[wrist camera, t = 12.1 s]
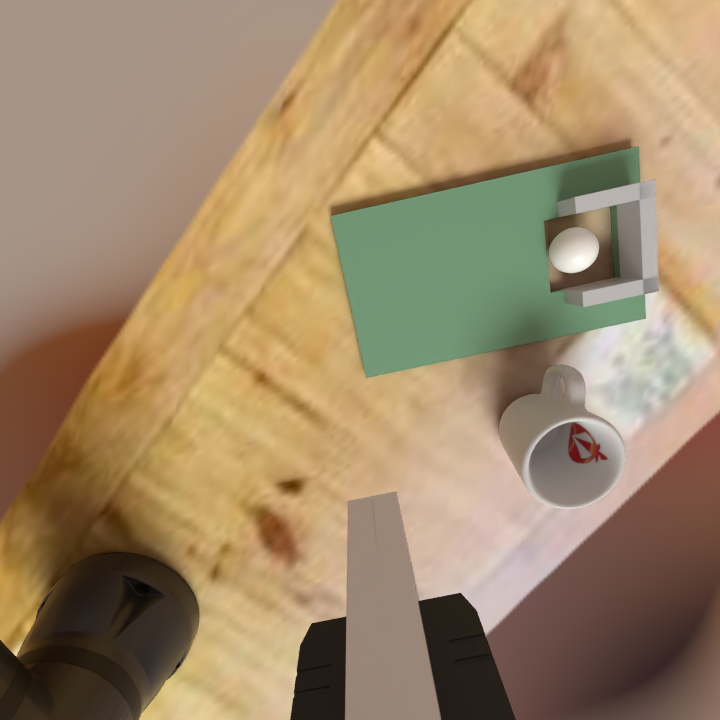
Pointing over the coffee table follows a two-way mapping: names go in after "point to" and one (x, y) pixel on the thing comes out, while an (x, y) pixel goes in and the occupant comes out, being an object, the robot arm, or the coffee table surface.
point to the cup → (562, 443)
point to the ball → (573, 250)
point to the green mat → (471, 266)
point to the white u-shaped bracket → (621, 243)
